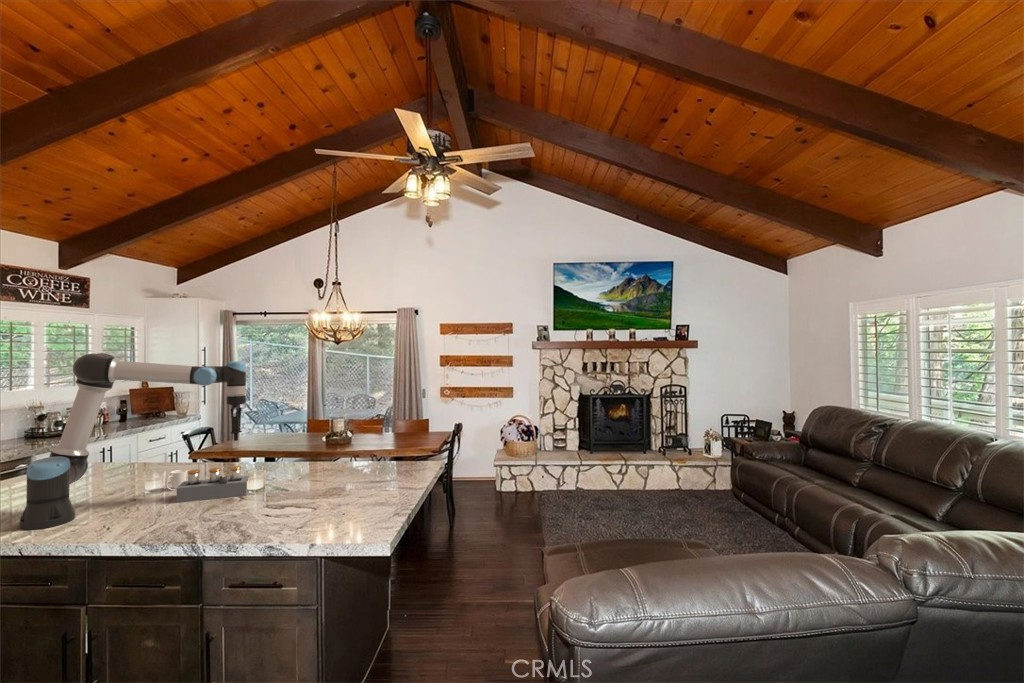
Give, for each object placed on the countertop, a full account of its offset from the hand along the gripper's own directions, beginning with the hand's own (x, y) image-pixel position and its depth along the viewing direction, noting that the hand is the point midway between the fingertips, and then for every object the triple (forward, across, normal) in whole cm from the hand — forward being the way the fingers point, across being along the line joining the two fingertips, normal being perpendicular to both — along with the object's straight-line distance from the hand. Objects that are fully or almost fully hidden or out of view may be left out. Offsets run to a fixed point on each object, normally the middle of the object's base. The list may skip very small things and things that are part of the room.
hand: (236, 447), depth 218 cm
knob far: (+16, 0, 0) cm, 16 cm away
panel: (+21, 0, +8) cm, 22 cm away
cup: (+21, +17, +27) cm, 38 cm away
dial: (+15, -4, +4) cm, 16 cm away
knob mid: (+16, 0, +8) cm, 18 cm away
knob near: (+16, 0, +16) cm, 23 cm away
